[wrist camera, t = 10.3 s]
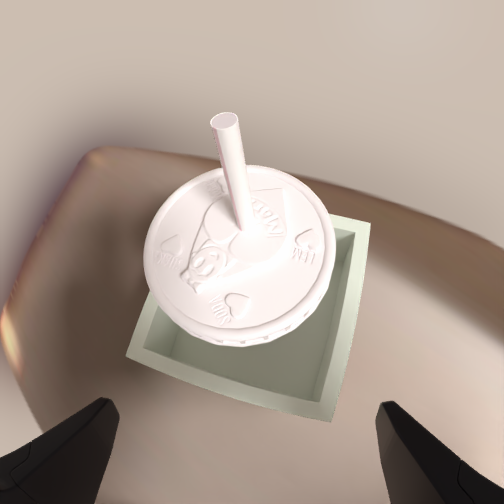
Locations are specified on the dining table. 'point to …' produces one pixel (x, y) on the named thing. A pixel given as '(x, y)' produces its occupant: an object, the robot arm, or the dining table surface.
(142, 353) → the bin
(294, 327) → the smoothie
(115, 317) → the dining table surface
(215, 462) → the dining table surface
